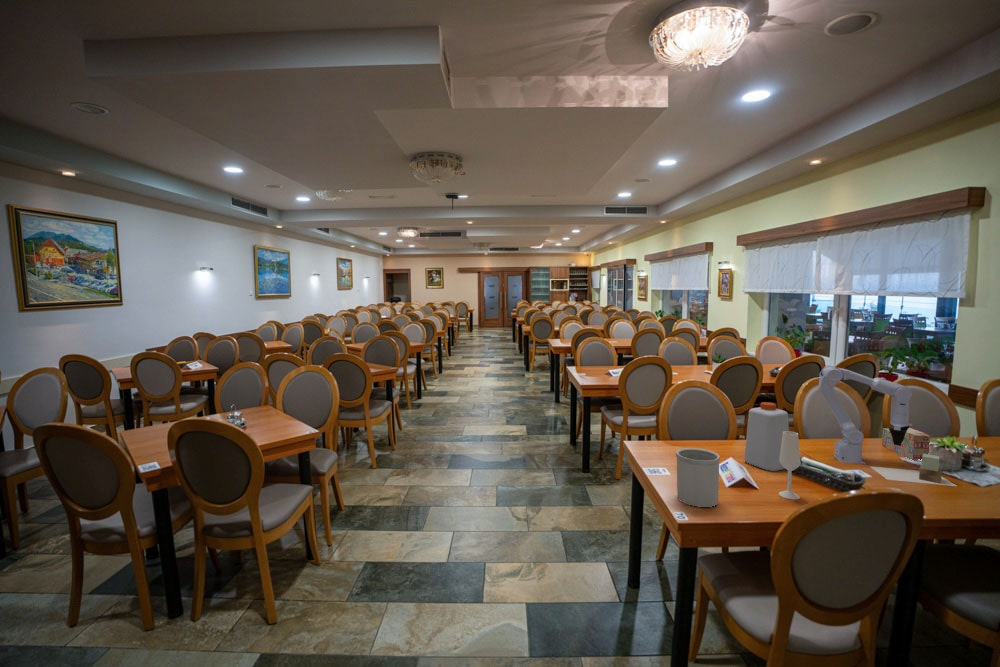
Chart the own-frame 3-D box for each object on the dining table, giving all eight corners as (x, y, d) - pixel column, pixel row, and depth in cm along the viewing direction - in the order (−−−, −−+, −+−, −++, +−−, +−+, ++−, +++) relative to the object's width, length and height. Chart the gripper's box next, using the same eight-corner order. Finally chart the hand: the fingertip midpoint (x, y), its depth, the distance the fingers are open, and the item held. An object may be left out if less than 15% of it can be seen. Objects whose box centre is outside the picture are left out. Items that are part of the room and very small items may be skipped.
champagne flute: (804, 497, 160) (805, 434, 158) (790, 500, 158) (792, 436, 156) (787, 490, 166) (789, 429, 165) (774, 493, 164) (775, 431, 163)
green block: (921, 468, 173) (922, 456, 172) (922, 465, 176) (923, 453, 176) (938, 471, 169) (938, 459, 169) (938, 468, 172) (939, 456, 172)
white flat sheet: (887, 480, 174) (887, 479, 173) (869, 467, 188) (869, 466, 188) (957, 487, 166) (957, 485, 166) (933, 473, 180) (933, 471, 180)
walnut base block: (919, 479, 173) (919, 468, 173) (920, 475, 177) (921, 464, 177) (940, 483, 169) (940, 472, 168) (941, 479, 173) (941, 468, 172)
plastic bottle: (771, 473, 183) (772, 408, 181) (740, 461, 197) (741, 401, 195) (795, 467, 189) (796, 405, 187) (762, 457, 203) (764, 398, 201)
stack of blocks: (881, 446, 215) (882, 422, 214) (896, 446, 214) (897, 422, 213) (913, 461, 194) (914, 434, 194) (929, 462, 193) (930, 435, 192)
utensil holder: (670, 490, 168) (670, 446, 167) (710, 491, 166) (710, 447, 165) (682, 508, 153) (683, 460, 152) (726, 509, 152) (727, 461, 151)
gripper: (910, 417, 179) (909, 449, 180) (914, 411, 189) (913, 441, 189) (887, 414, 184) (886, 445, 185) (892, 408, 194) (891, 438, 195)
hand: (898, 443), depth 188 cm, fingers open, 7 cm apart
